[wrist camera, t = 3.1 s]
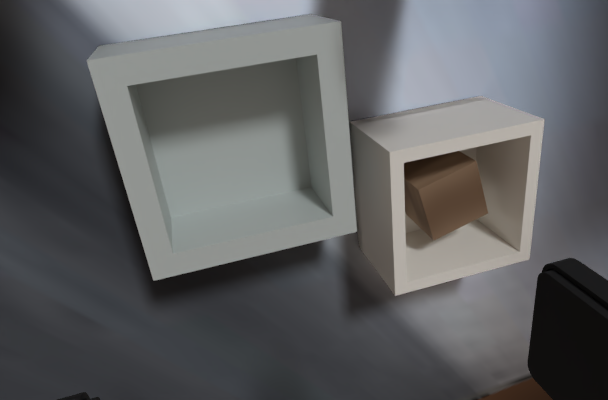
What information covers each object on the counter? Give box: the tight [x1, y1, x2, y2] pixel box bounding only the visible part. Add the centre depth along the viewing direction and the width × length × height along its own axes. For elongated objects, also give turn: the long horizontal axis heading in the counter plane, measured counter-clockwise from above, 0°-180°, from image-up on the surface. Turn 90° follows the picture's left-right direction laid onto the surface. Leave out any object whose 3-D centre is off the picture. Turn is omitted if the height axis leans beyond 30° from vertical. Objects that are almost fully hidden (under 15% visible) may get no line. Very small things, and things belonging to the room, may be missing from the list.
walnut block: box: [404, 151, 488, 241], centre depth 28 cm, size 4×4×4 cm
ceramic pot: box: [350, 96, 544, 296], centre depth 28 cm, size 8×8×6 cm
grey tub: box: [87, 14, 357, 281], centre depth 24 cm, size 10×10×5 cm
